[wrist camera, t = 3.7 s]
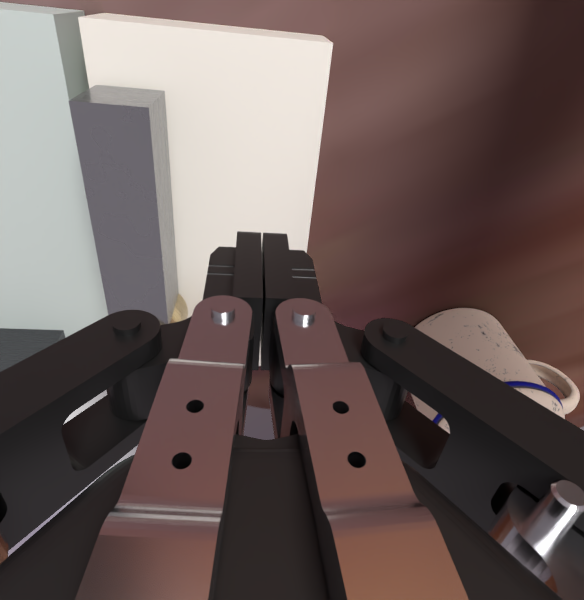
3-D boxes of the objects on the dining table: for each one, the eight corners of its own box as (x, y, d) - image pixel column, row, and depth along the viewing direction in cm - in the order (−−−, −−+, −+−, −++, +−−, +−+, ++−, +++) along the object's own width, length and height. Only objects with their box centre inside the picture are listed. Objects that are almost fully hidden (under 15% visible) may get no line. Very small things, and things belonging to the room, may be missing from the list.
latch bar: (189, 335, 28) (180, 378, 25) (125, 333, 28) (108, 376, 25) (175, 91, 20) (160, 110, 17) (84, 83, 20) (51, 101, 16)
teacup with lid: (389, 388, 39) (431, 516, 29) (402, 306, 34) (458, 430, 24) (521, 380, 39) (605, 504, 30) (554, 297, 34) (668, 416, 25)
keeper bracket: (-37, 326, 27) (-77, 372, 24) (63, 330, 28) (37, 375, 25) (-27, 350, 29) (-64, 397, 25) (69, 353, 29) (45, 399, 26)
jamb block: (105, 12, 22) (77, 16, 19) (322, 35, 23) (333, 42, 20) (145, 326, 33) (132, 362, 30) (289, 331, 34) (292, 366, 31)
